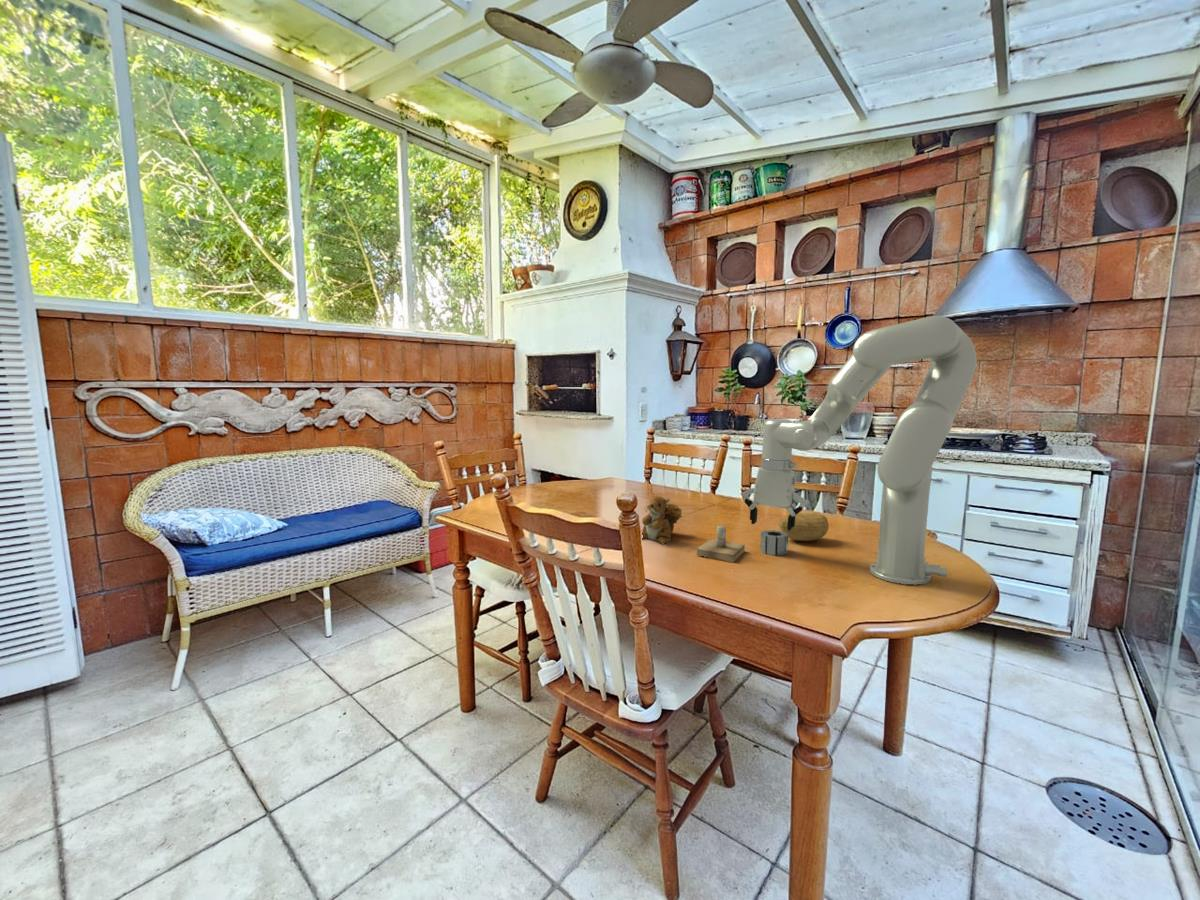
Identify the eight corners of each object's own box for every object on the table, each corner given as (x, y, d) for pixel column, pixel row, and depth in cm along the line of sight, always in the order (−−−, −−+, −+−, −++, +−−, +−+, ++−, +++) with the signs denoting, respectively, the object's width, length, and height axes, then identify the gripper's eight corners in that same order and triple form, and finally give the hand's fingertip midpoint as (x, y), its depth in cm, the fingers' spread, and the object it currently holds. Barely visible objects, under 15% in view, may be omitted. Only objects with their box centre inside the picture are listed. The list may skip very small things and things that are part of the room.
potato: (773, 535, 155) (774, 509, 154) (820, 535, 155) (821, 509, 154) (783, 545, 146) (784, 518, 145) (834, 545, 145) (835, 518, 144)
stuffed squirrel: (632, 539, 153) (632, 496, 152) (659, 528, 164) (660, 488, 162) (660, 546, 147) (660, 501, 145) (686, 534, 157) (687, 492, 155)
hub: (789, 549, 142) (790, 532, 141) (783, 557, 136) (784, 538, 136) (764, 545, 146) (765, 528, 145) (758, 552, 140) (758, 535, 139)
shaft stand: (744, 551, 141) (745, 525, 140) (733, 562, 133) (734, 534, 132) (709, 545, 147) (710, 520, 146) (696, 555, 138) (697, 528, 137)
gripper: (812, 466, 137) (807, 528, 139) (747, 459, 146) (744, 517, 148) (807, 470, 130) (802, 535, 133) (740, 463, 139) (736, 524, 142)
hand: (771, 526), depth 141 cm, fingers open, 9 cm apart
